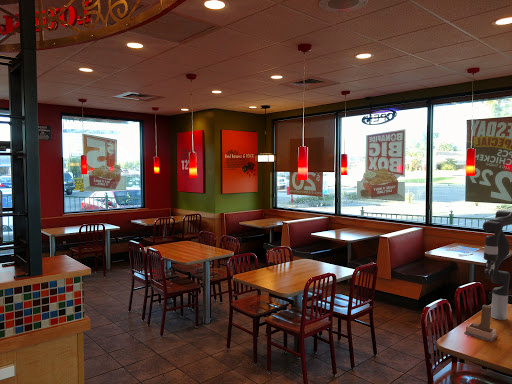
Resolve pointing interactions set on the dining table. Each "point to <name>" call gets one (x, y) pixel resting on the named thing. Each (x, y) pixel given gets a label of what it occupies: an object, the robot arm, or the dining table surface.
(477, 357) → the dining table surface
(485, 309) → the wooden block
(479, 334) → the block holder
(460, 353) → the dining table surface
